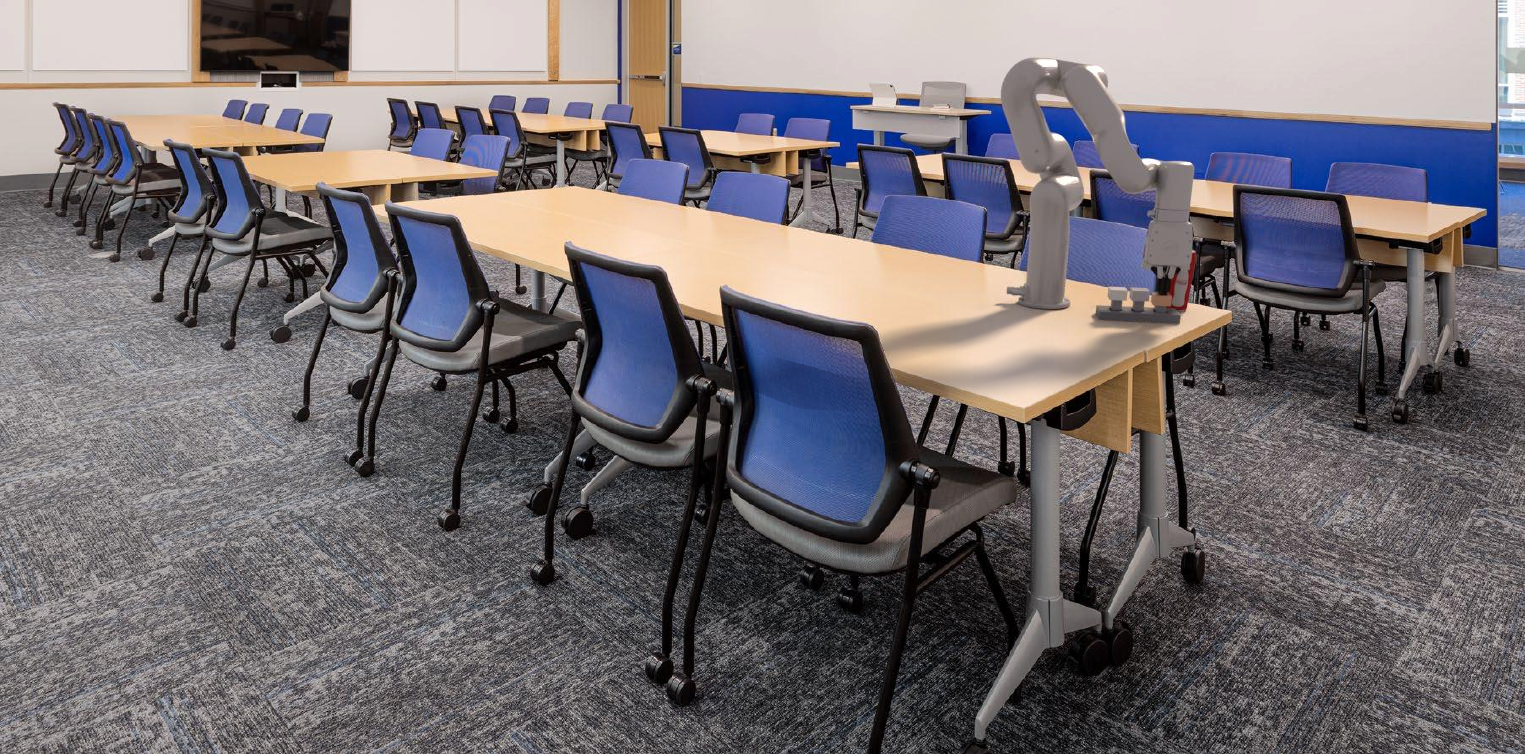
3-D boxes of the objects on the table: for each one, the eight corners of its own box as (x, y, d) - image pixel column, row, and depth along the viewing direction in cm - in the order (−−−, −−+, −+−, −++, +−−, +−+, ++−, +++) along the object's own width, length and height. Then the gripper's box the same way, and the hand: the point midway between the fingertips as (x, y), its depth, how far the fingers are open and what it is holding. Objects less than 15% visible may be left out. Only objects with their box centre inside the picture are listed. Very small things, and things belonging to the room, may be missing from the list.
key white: (1108, 310, 245) (1110, 290, 244) (1106, 306, 249) (1108, 286, 247) (1125, 311, 245) (1127, 290, 243) (1122, 307, 248) (1125, 287, 247)
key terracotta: (1152, 316, 244) (1154, 295, 243) (1149, 312, 248) (1151, 292, 246) (1169, 316, 243) (1172, 296, 242) (1166, 313, 247) (1168, 292, 246)
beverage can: (1166, 305, 260) (1173, 246, 255) (1193, 309, 256) (1200, 249, 251) (1158, 309, 255) (1165, 249, 251) (1185, 313, 251) (1192, 252, 247)
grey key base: (1099, 320, 245) (1100, 311, 244) (1095, 313, 251) (1096, 305, 251) (1179, 323, 242) (1180, 315, 241) (1173, 316, 248) (1174, 308, 248)
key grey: (1130, 311, 245) (1133, 290, 243) (1128, 307, 248) (1130, 287, 247) (1147, 311, 244) (1150, 291, 242) (1144, 308, 248) (1147, 288, 246)
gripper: (1140, 217, 236) (1131, 296, 242) (1209, 219, 234) (1199, 299, 239) (1134, 213, 243) (1126, 289, 249) (1201, 214, 241) (1192, 292, 246)
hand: (1162, 294), depth 244 cm, fingers closed
